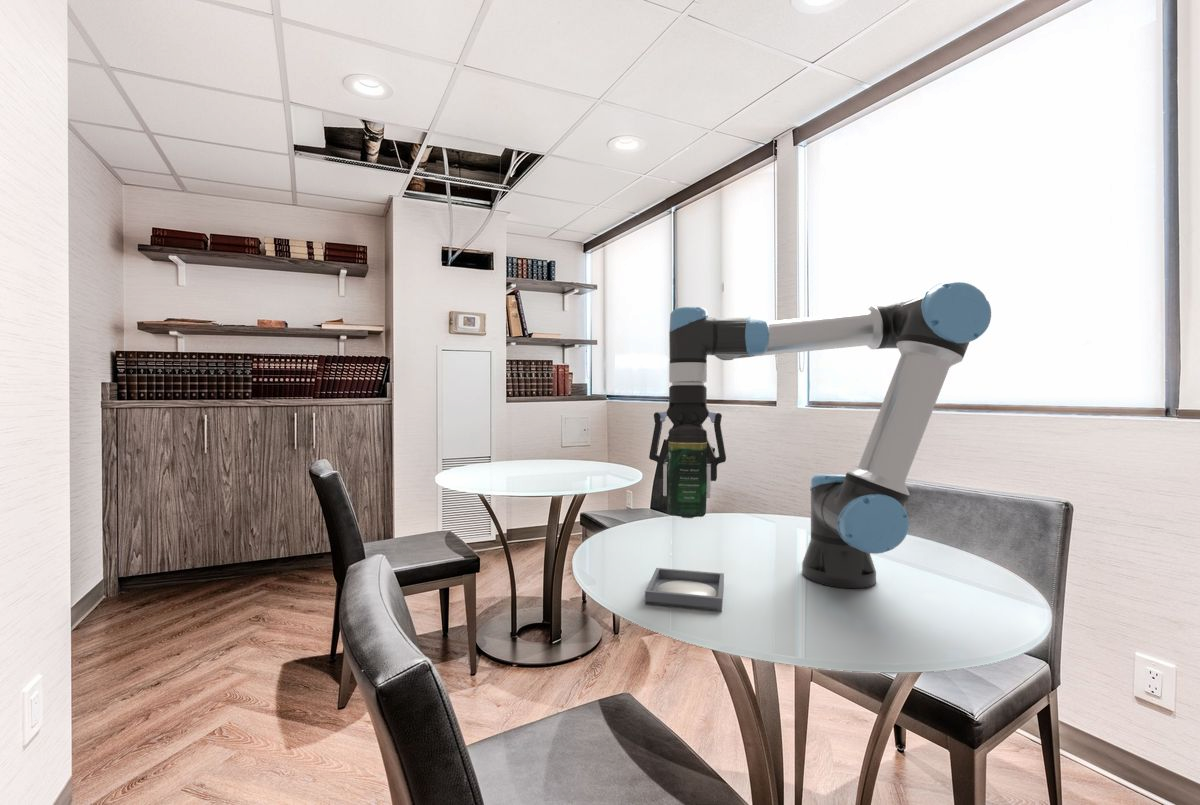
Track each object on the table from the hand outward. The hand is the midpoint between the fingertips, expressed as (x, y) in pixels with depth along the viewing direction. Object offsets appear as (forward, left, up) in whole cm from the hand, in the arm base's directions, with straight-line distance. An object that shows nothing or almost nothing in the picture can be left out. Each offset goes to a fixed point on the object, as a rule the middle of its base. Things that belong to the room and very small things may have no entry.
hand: (687, 495), depth 109 cm
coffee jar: (0, 0, -4) cm, 4 cm away
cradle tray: (0, 0, -20) cm, 20 cm away
